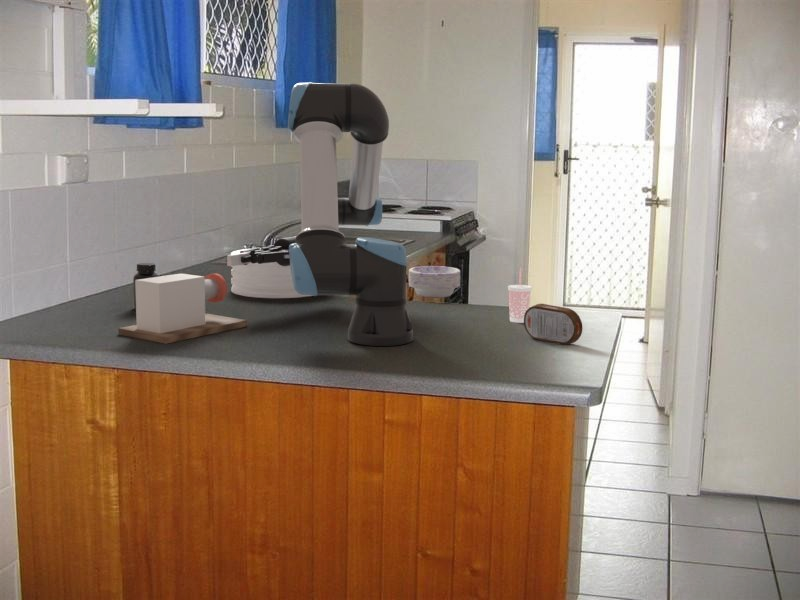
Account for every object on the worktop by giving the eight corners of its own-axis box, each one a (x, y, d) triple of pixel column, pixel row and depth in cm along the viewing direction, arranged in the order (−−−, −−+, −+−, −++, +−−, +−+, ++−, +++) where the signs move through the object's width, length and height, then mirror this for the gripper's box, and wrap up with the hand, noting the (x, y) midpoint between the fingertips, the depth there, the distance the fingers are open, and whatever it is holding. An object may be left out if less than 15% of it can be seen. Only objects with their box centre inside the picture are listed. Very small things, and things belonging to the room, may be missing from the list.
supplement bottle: (153, 311, 260) (151, 266, 258) (129, 310, 261) (127, 265, 259) (164, 307, 266) (163, 262, 264) (140, 305, 268) (139, 261, 266)
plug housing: (182, 320, 241) (181, 273, 239) (205, 324, 236) (204, 276, 234) (136, 329, 229) (135, 279, 227) (160, 333, 225) (159, 283, 223)
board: (200, 318, 251) (200, 312, 251) (246, 326, 242) (246, 320, 242) (118, 334, 230) (118, 328, 230) (165, 343, 221) (165, 337, 221)
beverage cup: (510, 323, 251) (512, 268, 249) (503, 318, 257) (505, 265, 255) (533, 323, 252) (535, 268, 250) (526, 318, 258) (528, 265, 256)
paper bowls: (423, 301, 282) (424, 273, 281) (399, 293, 295) (399, 267, 294) (469, 298, 289) (470, 271, 287) (443, 290, 302) (444, 264, 301)
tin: (582, 345, 227) (584, 309, 225) (574, 347, 224) (576, 311, 223) (528, 335, 237) (530, 301, 235) (520, 337, 235) (522, 302, 233)
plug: (206, 300, 246) (206, 272, 245) (227, 303, 242) (226, 274, 241) (163, 307, 235) (162, 278, 234) (184, 311, 231) (183, 281, 230)
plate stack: (332, 297, 287) (333, 258, 285) (235, 299, 280) (234, 259, 278) (317, 282, 314) (317, 246, 312) (227, 284, 307) (227, 248, 305)
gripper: (310, 267, 263) (248, 278, 244) (273, 262, 270) (210, 272, 251) (310, 239, 262) (248, 248, 242) (273, 235, 269) (210, 243, 250)
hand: (229, 260), depth 247 cm, fingers closed
